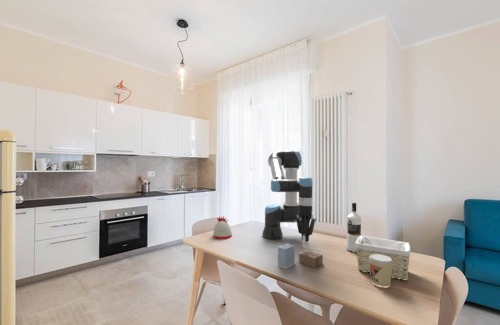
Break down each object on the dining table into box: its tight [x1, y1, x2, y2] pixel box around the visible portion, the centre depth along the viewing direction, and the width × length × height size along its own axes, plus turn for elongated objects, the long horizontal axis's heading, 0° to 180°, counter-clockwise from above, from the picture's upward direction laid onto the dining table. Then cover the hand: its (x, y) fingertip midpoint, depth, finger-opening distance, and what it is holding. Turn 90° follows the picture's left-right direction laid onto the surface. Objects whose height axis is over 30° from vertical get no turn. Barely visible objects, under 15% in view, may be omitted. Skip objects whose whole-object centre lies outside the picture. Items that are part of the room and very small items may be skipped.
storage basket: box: [355, 234, 411, 280], centre depth 122 cm, size 24×16×15 cm
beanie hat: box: [212, 215, 233, 240], centre depth 178 cm, size 14×14×15 cm
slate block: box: [277, 243, 296, 269], centre depth 128 cm, size 8×5×10 cm, turn 134°
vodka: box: [345, 202, 362, 253], centre depth 151 cm, size 9×9×30 cm
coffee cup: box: [369, 254, 393, 286], centre depth 108 cm, size 9×9×12 cm
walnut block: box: [298, 249, 324, 269], centre depth 131 cm, size 8×5×10 cm
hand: (305, 246), depth 134 cm, fingers closed
